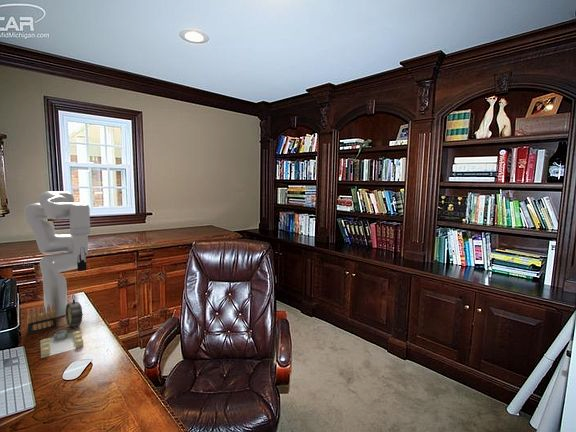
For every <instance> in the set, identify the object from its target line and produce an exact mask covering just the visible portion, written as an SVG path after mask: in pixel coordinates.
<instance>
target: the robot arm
mask: <svg viewBox="0 0 576 432" xmlns="http://www.w3.org/2000/svg"><path fill="white" fill-rule="evenodd" d="M23 211H24V212H23V213H24V218H25V221H26V223H27V224H28V225H29V227H30V228H31V230H32V232H33V234H34V238H35V241H36V244H37V248H38V250H39V253H41V254H43V255H45V256H43V257H42V258H41V259H40V260H39V268H40V272H41V275H42V287H43V305H44V306H45V310H46V317H47V306H48V304H49V305H50V310H51V317H52V304H53V303H54V305H55V311H56V318H60V317H64V316H66V306H67V304H68V292H67V291H68V290H67V278H66V277H65V276H64V275H63V274H61V273H62V272H67V271H71V270H77V272H84V271H87V261H86V258H87V256H89V238H88V237H89V236H88V235H91V215H90V214H91V213H90V211H91V209H90V205H89V204H87V203H82V202H80V201H79V202H75V198H74V196H73V194H72V193H71V192H69V191H65V190H64V191H63V190H61V191H60V190H59V191H58V190H57V191H56V190H55V191H44V192H41V193H40V194H39V195H38V197H37V202H35V203H30V204H27V205H25V207H24V210H23ZM47 219H52V220H59V221H60V220H69V231H70V232H69V233H70V234H68V233H65V234H56V230H55V228H54V226H53V225H52V224H50V223H49V222H48V221H46V220H47ZM41 315H42V312H41Z"/></svg>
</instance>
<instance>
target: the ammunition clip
mask: <svg viewBox="0 0 576 432" xmlns="http://www.w3.org/2000/svg"><path fill="white" fill-rule="evenodd" d="M31 311H32V313H31ZM36 312H37V313H36ZM41 313H42V315H41ZM26 314H27V316H26V325H27V328H26V329H27V330H26V331H27V335H31V334H36V333H39V332H44V331H47V330H52V329H56V328H58V322H57V317H56V311H55V305H54V303H53V304H52V317H51V310H50V305H49V304H48V306H47V317H46V310H45V306H44V304H43V305H42V310H41V307H40V306H39V305H38V306H37V311H36V308H35V307H34V306H33V308H32V310H31V309H30V307H28V308H27V312H26Z"/></svg>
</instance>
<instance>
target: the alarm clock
mask: <svg viewBox="0 0 576 432" xmlns="http://www.w3.org/2000/svg"><path fill="white" fill-rule="evenodd" d="M71 296H72V302H69V303H68V302H67V306H66V315H65V320H66V324H67V327H68V328H71V327H73V330H74V331H77V330H76V326H79V325H80V326H81V323H82V321H83V315H84V314H83V309H82V305H81V303H80V302H78V301H76V296H75V294H74V293H73V294H72V295H71Z"/></svg>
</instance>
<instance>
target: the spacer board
mask: <svg viewBox="0 0 576 432" xmlns="http://www.w3.org/2000/svg"><path fill="white" fill-rule="evenodd" d="M81 333H82V331H81V330H74V331H73V332H68V337H67V338H66V339H63V340H59V341H57V340H54V336H52V337H48V338H43V339H41V340H40V358H41V359H42V358H46V357H50V356H54V355H58V354H62V353H65V352H69V351H73V350H76V349H81V348H83V347H85V345H84V338H83V335H82V334H81Z"/></svg>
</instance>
